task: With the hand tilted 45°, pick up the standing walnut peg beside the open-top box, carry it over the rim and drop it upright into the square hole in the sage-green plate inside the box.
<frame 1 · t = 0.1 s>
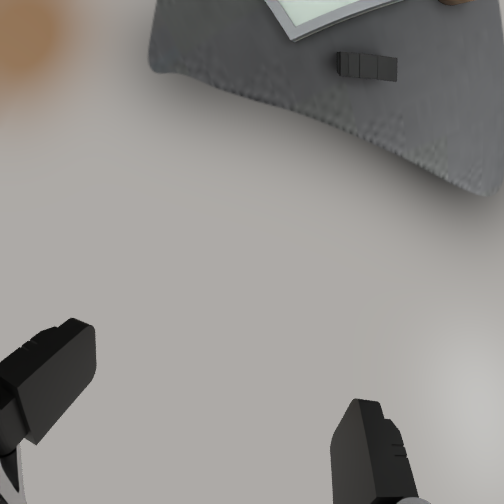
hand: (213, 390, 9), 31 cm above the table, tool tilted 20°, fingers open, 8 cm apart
ink cartridge: (358, 64, 28), on the table
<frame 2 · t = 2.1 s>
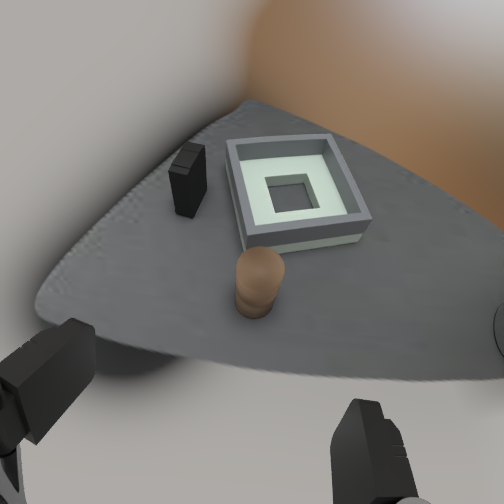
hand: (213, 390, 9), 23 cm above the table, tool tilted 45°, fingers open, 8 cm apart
socket box: (289, 201, 41), on the table
ink cartridge: (192, 202, 40), on the table
peg: (253, 300, 34), on the table
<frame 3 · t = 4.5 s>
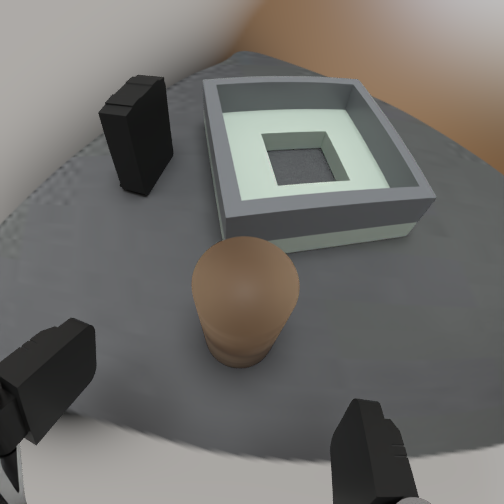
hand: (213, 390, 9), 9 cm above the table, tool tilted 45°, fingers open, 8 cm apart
socket box: (299, 172, 26), on the table
ink cartridge: (149, 173, 25), on the table
peg: (239, 335, 19), on the table
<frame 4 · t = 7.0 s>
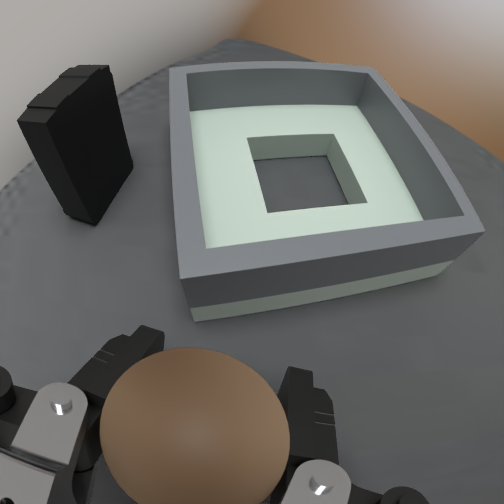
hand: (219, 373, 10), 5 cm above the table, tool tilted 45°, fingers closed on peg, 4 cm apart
socket box: (299, 190, 19), on the table
ink cartridge: (102, 192, 19), on the table
peg: (211, 426, 13), on the table, touching gripper
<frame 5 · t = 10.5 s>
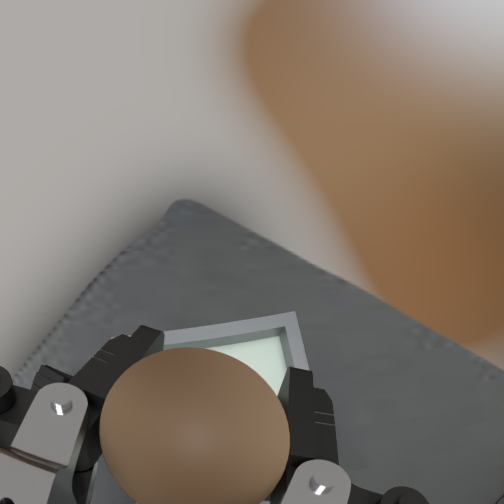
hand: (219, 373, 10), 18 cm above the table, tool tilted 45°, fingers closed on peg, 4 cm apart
socket box: (220, 419, 24), on the table
ink cartridge: (85, 408, 23), on the table
peg: (211, 426, 13), point 13 cm above the table, touching gripper
when the fingers open (5 cm above the table, at t = 14.3 s): peg stays where it is, resting in socket box.
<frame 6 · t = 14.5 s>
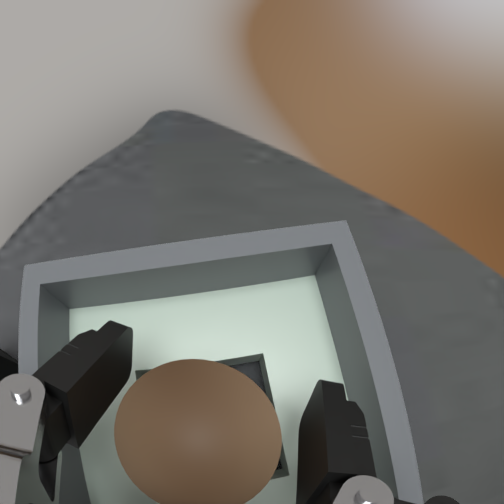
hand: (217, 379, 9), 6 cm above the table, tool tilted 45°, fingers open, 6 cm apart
socket box: (211, 425, 13), on the table
ink cartridge: (5, 394, 13), on the table
peg: (212, 427, 13), resting in socket box
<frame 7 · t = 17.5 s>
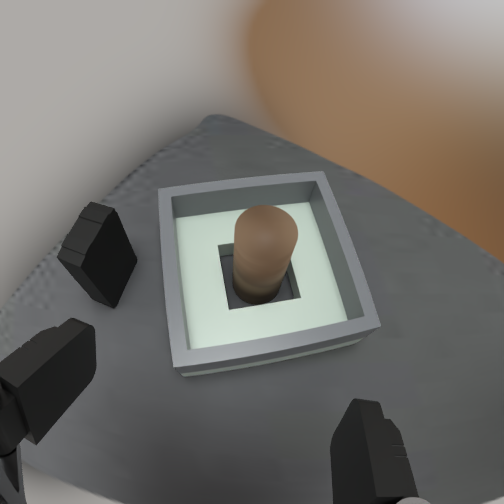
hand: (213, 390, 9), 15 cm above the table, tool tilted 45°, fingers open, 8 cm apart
socket box: (256, 281, 27), on the table
ink cartridge: (116, 280, 27), on the table
peg: (256, 282, 27), resting in socket box
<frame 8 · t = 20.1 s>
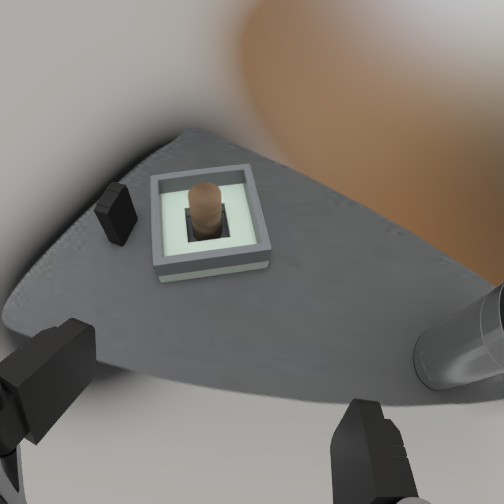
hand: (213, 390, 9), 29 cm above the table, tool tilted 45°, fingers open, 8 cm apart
socket box: (207, 230, 45), on the table
ink cartridge: (124, 230, 44), on the table
peg: (207, 230, 45), resting in socket box
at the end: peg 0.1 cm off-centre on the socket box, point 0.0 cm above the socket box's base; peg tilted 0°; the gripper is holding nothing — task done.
